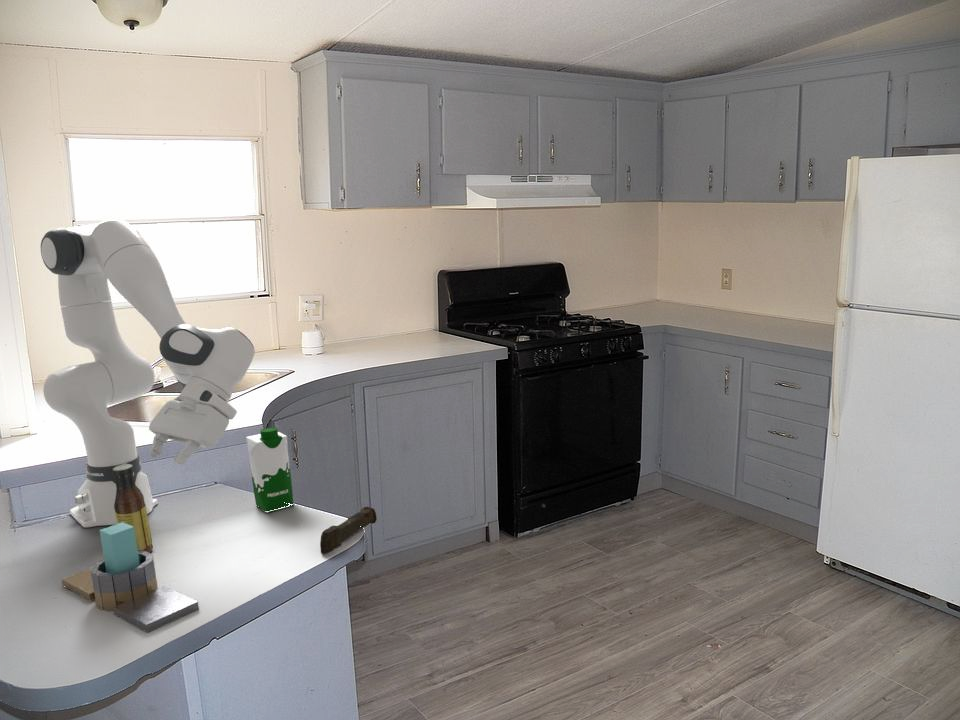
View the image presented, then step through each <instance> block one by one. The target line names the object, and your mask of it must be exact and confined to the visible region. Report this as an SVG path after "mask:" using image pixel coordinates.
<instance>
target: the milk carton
mask: <svg viewBox="0 0 960 720" xmlns="http://www.w3.org/2000/svg"><path fill="white" fill-rule="evenodd" d="M259 432H260V433H258V434H254V435H249V436H246V439H245V440H246V444H247V449H248V455H249V456H248V457H249V464H250V471H251V481H252V488H253V495H254V499H255V506H256V505H257V506H259V507H260V508H261V509H263V510H264V511H270V510H274V509H278V508H281V507H284V506H285V507H286V506H288V505H289V504H288V503H290V504H293V505H294V496H293V485H292V484H293V483H292V475H291V465H290V457H289V447H288V435H286V434H284V433H282V432H280V431H278V428H277V427H265V428H262V429H261V430H260V431H259ZM284 502H285V503H284ZM286 503H287V504H286ZM293 505H292V507H294V506H293ZM257 506H256V507H257ZM290 506H291V505H290ZM260 508H259V509H260ZM261 509H260V510H261ZM263 510H262V511H263ZM264 511H263V512H264Z"/></svg>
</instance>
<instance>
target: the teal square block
mask: <svg viewBox="0 0 960 720" xmlns="http://www.w3.org/2000/svg"><path fill="white" fill-rule="evenodd" d="M99 537H100V543H101V548H102V555H103V559H104V562H105V568H106V573H116V572H122V571H127V570H130V569H132V568H135V567H137V566H139V565H140V563H139V556H138V550H137V543H136V537H135V530H134V527H133V526H131V525H128V524H126V523H123V522H122V523H119V524H114V525H109V526H108V527H105V528H102V529H99Z"/></svg>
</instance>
